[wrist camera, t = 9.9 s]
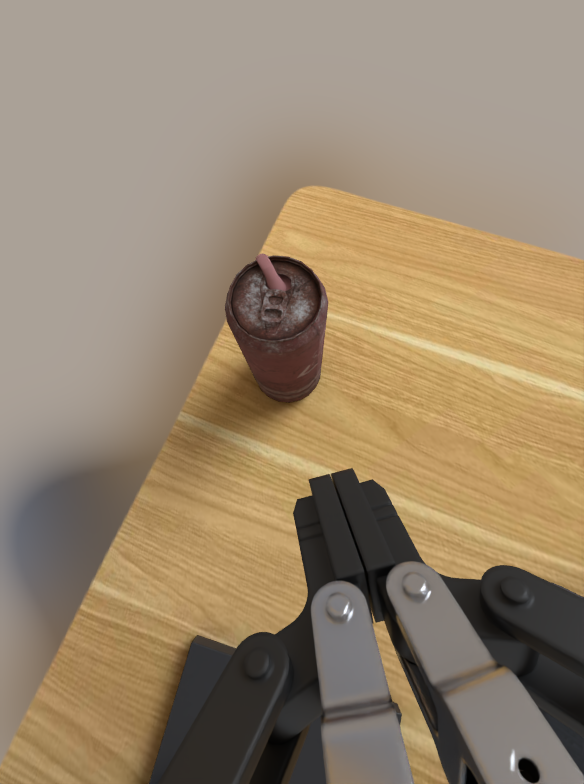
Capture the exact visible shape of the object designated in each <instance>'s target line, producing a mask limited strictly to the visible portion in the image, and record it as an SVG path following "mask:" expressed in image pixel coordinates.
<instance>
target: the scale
mask: <svg viewBox="0 0 584 784" xmlns="http://www.w3.org/2000/svg"><path fill="white" fill-rule="evenodd" d="M235 650H236V648H233V647H230V646H228V645H225V644H222V643H219V642H216V641H213V640H210V639H207V638H204V637H201V636H198V635H197V636H196V637H195V639H194V640H193V641H192V643H191V646H190V650H189V653H188V656H187V660H186V663H185V666H184V669H183V673H182V676H181V679H180V683H179V686H178V689H177V693H176V696H175V699H174V703H173V706H172V709H171V712H170V716H169V719H168V722H167V726H166V729H165V732H164V736H163V739H162V742H161V746H160V749H159V752H158V755H157V759H156V762H155V765H154V769H153V772H152V775H151V779H150V782H149V784H158V782H159V780H160V779H161V777H162V775H163V774H164V772H165V770H166V768H167V767H168V765H169V763H170V762H171V760H172V758H173V756H174V755H175V753H176V751H177V750H178V748H179V746H180V744H181V743H182V741H183V739H184V737H185V736H186V734H187V732H188V731H189V729H190V727H191V725H192V724H193V722H194V720H195V719H196V717H197V715H198V713H199V712H200V710H201V708H202V707H203V705H204V703H205V701H206V700H207V698H208V696H209V695H210V693H211V691H212V689H213V688H214V686H215V684H216V683H217V681H218V679H219V677H220V676H221V674H222V672H223V670H224V669H225V667H226V665H227V664H228V662H229V660H230V658H231V657H232V655H233V653H234V652H235ZM393 705H394V708H395V711H396V715H397V718H398V722H399V726H400V722H401V716H402V714H401V712H400V709H399V707H398V704H397V703H394V702H393ZM288 784H327V783H326V774H325V765H324V755H323V746H322V736H321V716H319V717H318V718H317V719H316V720H314V721H313V722H312V723H311V724H310V727H309V731H308V734H307V736H306V739H305V741H304V744H303V747H302V749H301V752H300V754H299V757H298V760H297V762H296V765H295V768H294V770H293V773H292V775H291V778H290V781H289V783H288Z"/></svg>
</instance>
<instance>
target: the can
mask: <svg viewBox="0 0 584 784" xmlns="http://www.w3.org/2000/svg"><path fill="white" fill-rule="evenodd" d="M327 309H328V299H327V295H326V291H325V287H324V286H323V284H322V283H321V281H320V280H319V278H318V277H317V275H316V274H314V272H313V270H311V269H310V268H309V267H308V266H306V265H305V264H304V263H302V262H301V261H298V260H296V259H293V258H290V257H286V256H269V257H268V256H267V255H265V254H259V255H258V256H257V257H256V260H255V261H254V262H252V263H250V264H248V265H246V266H245V267H244V268H243V269H242V270H241V271H240V272H239V273H238V274H237V275H236V277H235V278H234V280H233V282H232V284H231V286H230V289H229V292H228V293H227V299H226V304H225V311H226V317H227V322H228V325H229V327H230V329H231V331H232V333H233V335H234V337H235V339H236V341H237V343H238V345H239V347H240V349H241V351H242V353H243V355H244V357H245V359H246V361H247V363H248V365H249V367H250V369H251V371H252V373H253V376H254V378H255V380H256V382H257V383H258V385H259V387H260V389H261V390H262V391H263V392H264V393H265V394H266V395H267V396H268V397H270V398H272V399H274V400H277V401H280V402H294V401H298V400H301V399H303V398H304V397H306V396H308V395H309V394H310V393H311V392H312V391H313V390H314V389H315V388H316V386H317V384H318V381H319V379H320V373H321V364H322V355H323V346H324V337H325V328H326V319H327Z"/></svg>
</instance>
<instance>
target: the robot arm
mask: <svg viewBox="0 0 584 784" xmlns="http://www.w3.org/2000/svg"><path fill="white" fill-rule="evenodd" d="M331 477H332V479H331ZM309 483H310V487H311V491H312V496H308V497H304V498H301V499H297V502H296V505H295V509H294V513H293V514H294V520H295V525H296V529H297V535H298V540H299V545H300V551H301V556H302V561H303V566H304V571H305V576H306V582H307V587H308V597H307V602H306V605H305V607H304V609H303V611H302V612H301V614H300V615H299V617H298V618H297V619H296V620H295V621H293V622H292V623H291V624H290V625H288V626H287V627H285V628H284V629H282V630H281V631H279V632H278V633H277V634H275V635H274V634H272V633H268V632H259V633H255V634H253V635H251V636H249V637H247V638H246V639H245V640H244V641H242V642H241V643H240V645H239V646H238V647H237V649H236V650H235V652H234V653H233V655H232V657H231V658H230V660H229V662H228V664H227V665H226V667H225V669H224V670H223V672H222V674H221V676H220V677H219V679H218V681H217V683H216V684H215V686H214V688H213V689H212V691H211V693H210V695H209V696H208V698H207V700H206V701H205V703H204V705H203V707H202V708H201V710H200V712H199V713H198V715H197V717H196V719H195V720H194V722H193V724H192V725H191V727H190V729H189V731H188V732H187V734H186V736H185V737H184V739H183V741H182V743H181V744H180V746H179V748H178V750H177V751H176V753H175V755H174V756H173V758H172V760H171V762H170V763H169V765H168V767H167V768H166V770H165V772H164V774H163V775H162V777H161V779H160V780H159V782H158V784H288V783H289V781H290V778H291V775H292V773H293V770H294V768H295V765H296V762H297V760H298V757H299V754H300V752H301V749H302V747H303V744H304V741H305V739H306V736H307V734H308V731H309V727H310V724H311V723H312V722H313V721H314V720H316V719H317V718H318V717H319V716H321V736H322V746H323V755H324V765H325V774H326V783H327V784H414V781H413V777H412V773H411V769H410V765H409V761H408V757H407V753H406V749H405V745H404V742H403V738H402V734H401V730H400V726H399V722H398V718H397V715H396V711H395V708H394V705H393V702H392V699H391V695H390V692H389V688H388V684H387V680H386V676H385V672H384V668H383V664H382V660H381V656H380V652H379V649H378V645H377V641H376V637H375V633H374V629H373V625H372V623H373V618H372V613H373V616H374V619H375V622H380V621H385V624H386V627H387V630H388V633H389V635H390V638H391V641H392V643H393V645H394V648H395V651H396V654H397V656H398V658H399V661H400V663H401V665H402V668H403V670H404V672H405V674H406V677H407V679H408V681H409V684H410V686H411V688H412V691H413V693H414V695H415V697H416V700H417V702H418V704H419V707H420V709H421V711H422V714H423V716H424V718H425V720H426V723H427V725H428V727H429V730H430V732H431V734H432V737H433V739H434V742H435V745H436V748H437V751H438V755H439V758H440V761H441V764H442V767H443V769H444V772H445V775H446V777H447V780H448V782H449V784H584V775H583V774H582V772H581V771H580V769H579V768H578V766H577V765H576V763H575V762H574V761H573V759H572V758H571V756H570V755H569V753H568V752H567V750H566V749H565V747H564V746H563V744H562V743H561V741H560V740H559V738H558V737H557V735H556V734H555V732H554V731H553V729H552V728H551V726H550V725H549V723H548V722H547V720H546V719H545V717H544V716H543V714H542V713H541V711H540V710H539V708H541V709H542V710H544V711H545V712H547V713H548V714H550V715H551V716H553V717H554V718H556V719H557V720H558V721H560V722H561V723H563V724H564V725H566V726H567V727H569V728H570V729H572V730H573V731H575V732H576V733H577V734H579V735H580V736H582V737H583V738H584V599H583V598H581V597H579V596H577V595H575V594H573V593H571V592H569V591H567V590H565V589H562V588H560V587H558V586H556V585H554V584H552V583H550V582H548V581H546V580H544V579H541V578H539V577H537V576H535V575H533V574H531V573H529V572H527V571H525V570H522V569H520V568H517V567H513V566H507V565H500V566H495V567H492V568H490V569H488V570H487V571H486V572H485V573H484V575H483V576H482V579H481V580H475V579H459V578H451V577H447V576H444V575H441V574H439V573H437V572H436V571H435V570H434V569H432V568H431V567H429V566H428V565H426V564H425V563H424V561H423V560H422V559H421V557H420V556H419V554H418V552H417V550H416V548H415V546H414V544H413V542H412V540H411V538H410V537H409V535H408V533H407V531H406V529H405V527H404V525H403V523H402V521H401V519H400V518H399V516H398V515H397V512H396V510H395V508H394V506H393V505H392V503H391V500H390V499H389V497H388V495H387V493H386V491H385V489H384V488H382V487H381V486H380V485H379V484H377V483H376V482H375V481H374V480H369V481H365V482H362V483H359V481H358V479H357V476H356V474H355V472H354V470H353V468H351V469H347V470H343V471H339V472H335V473H332V474H331V476H330V474H327V475H324V476H320V477H316V478H312V479H309ZM371 610H372V612H371ZM537 706H538V707H539V708H538V707H537Z"/></svg>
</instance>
